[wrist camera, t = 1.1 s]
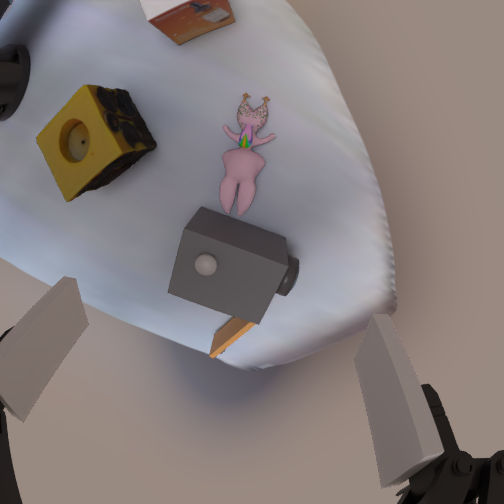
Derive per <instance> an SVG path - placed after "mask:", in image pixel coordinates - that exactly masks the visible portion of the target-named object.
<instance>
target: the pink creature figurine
mask: <svg viewBox="0 0 504 504" xmlns="http://www.w3.org/2000/svg"><path fill="white" fill-rule="evenodd" d="M243 96H244V99H243V102H242V103H241V105H240V107H239V109H238V113H237V119H238V122H239V124H240V126H241V128H242V133H241V134H238V135H237V134H234V133H232V132H231V131H230V130H229V128H228V126H226V125H224V126H223V129H224V131H225V132H226V133H227V134H228V136H230V137H231V138H232V139H233V140H235V141H236V142H238V143H239V146H240V148H239V149H232V150H229V151H227V152H225V153H224V154H223V156H222V159H223V162H224V166H225V170H226V175H225V177H224V179H223V180H222V181H221V184H220V202H221V205H222V207H223V209H224V211H225V212H226V213H227V214H229V212H230V209H231V207H232V205H233V202H234V198H235V194H236V189H237V184H238V183H239V184H240V186H239V191H238V198H237V210H238V216H241V215H242V214H244V213H245V211H246V210H247V209H248V208H249V206H250V205H251V203H252V200H253V198H254V195H255V191H256V187H255V183H254V180H255V177H256V176H257V174H258V173H259V172H260V170H261V169H262V168H263V167H264V165H265V161H264V159H263V158H262V157H261V156H260V155H259V154H257V153H254V152H252V151H251V147H253V146H255V145H260V144H263V143H266V142H268V141H270V140H272V139H273V138H275V134H270V135H269V136H268V137H266V138H263V139H259V138H257V137H256V132H257V130H258V129H260V128H261V127H262V126H263V125H264V124H265V122H266V120H267V117H268V111H267V106H266V101H267V100H270V99H269V98H268V97H267V96H266V97H265V98H262V99H264V100H265V102H264V104H263V105H261V106H260V107H258V108H257V109H255V110H252V108H251V107H250V106H249V105H248V103H247V102H246V97H250V96H249V95H248V94H247V93H246V92H245V94H243Z"/></svg>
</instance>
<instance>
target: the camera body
mask: <svg viewBox="0 0 504 504" xmlns="http://www.w3.org/2000/svg"><path fill="white" fill-rule="evenodd" d="M298 274H299V260H298V259H297V258H295V257H292V256H289V255H287V246H286V238H284V237H282V236H279V235H277V234H274V233H271V232H269V231H266V230H263V229H261V228H258V227H255V226H253V225H250V224H247V223H245V222H242V221H239V220H237V219H234V218H231V217H228V216H226V215H223V214H220V213H218V212H215V211H212V210H209V209H206V208H204V207H201V208H200V209H199V210H198V211H197V213H196V214H195V215H194V217H193V218H192V219H191V220H190V222H189V223H188V224H187V226H186V227H185V228H184V231H183V235H182V238H181V242H180V246H179V249H178V253H177V257H176V261H175V264H174V268H173V272H172V276H171V280H170V284H169V288H168V293H170V294H173V295H175V296H178V297H181V298H183V299H186V300H189V301H191V302H194V303H197V304H200V305H202V306H205V307H208V308H211V309H214V310H216V311H219V312H222V313H225V314H228V315H231V316H234V317H237V318H240V319H243V320H246V321H249V322H252V323H255V324H258V325H259V323H260V321H261V319H262V318H263V316H264V314H265V312H266V310H267V308H268V306H269V304H270V302H271V300H272V298H273V296H274V294H275V293H277V294H280V295H283V296H286V295H287V294H288V293H289V292H290V291H291V290H292V288H293V287H294V285H295V283H296V281H297V278H298Z"/></svg>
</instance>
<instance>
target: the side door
mask: <svg viewBox="0 0 504 504" xmlns="http://www.w3.org/2000/svg"><path fill="white" fill-rule="evenodd" d="M260 322H261V321H260ZM254 325H255V323H252V322H249V321H246V320H243V319H240V318H237V317H234V318H232V319H231V320H230V321H229V322H228V323H227V324H226V325H225V326H223V327H222V328H221V329H220V330H219V331H218V332H217V333H216V334H214V338H213V342H212V346H211V350H210V354H209V356H210V357H212V358H214V357H216V356H217V355H218V354H222V353H223V352H224V351H225V349H226V348H227V347H228V346H230V345H231V344H232V343H233V342H235V341H236V340H237V339H238V338H240V337H241V336H242V335H243V334H244V333H246V332H247V331H248V330H249V329H251V328H252V327H253V326H254Z"/></svg>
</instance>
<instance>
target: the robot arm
mask: <svg viewBox="0 0 504 504" xmlns="http://www.w3.org/2000/svg"><path fill="white" fill-rule="evenodd" d="M12 2H13V1H12V0H0V20H1V18H2V16H3V15H4V13H5V11H6V10H7V8H8V7H9V5H11V4H12ZM29 72H30V58H29V53H28V51H27V49H26V48H25V47H24V46H22V45H17V44H9V45H6V46H3V47H0V121H2V120H5V119H7V118H9V117H10V116H11V115H12V114H13V113H14V111H15V110H16V109H17V107H18V105H19V104H20V102H21V100H22V97H23V95H24V92H25V89H26V86H27V82H28V78H29ZM88 325H89V323H88V320H87V317H86V314H85V310H84V307H83V304H82V300H81V297H80V293H79V289H78V285H77V281H76V278H71V277H66V276H64V277H63V278H62V279H61V280H60V281H59V282H58V283H56V284H55V285H54V286H53V287H52V288H51V289H50V290H49V291H48V292H47V293H46V294H45V295H44V296H43V297H42V298H41V299H40V300H39V301H38V302H37V303H36V304H35V305H34V306H33V307H32V308H31V309H30V310H29V311H28V312H27V313H26V314H25V316H23V318H22V319H21V320H20V321H19V322H18V323H17V324H16V325H15V326H13V327H12V328H10V329H8V330H7V331H5V332H4V334H3V335H2V336H1V337H0V504H22V500H21V498H20V494H19V490H18V486H17V482H16V478H15V474H14V469H13V464H12V459H11V453H10V447H9V440H8V432H7V423H6V415H5V412H4V411H3V409H4V407H6V408H7V410H8V411H9V412H10V413H11V414H12V415H13V416H14V417H16V418H17V419H19V420H20V421H22V422H23V423H24V421H25V420H26V418H27V416H28V414H29V413H30V411H31V409H32V408H33V406H34V404H35V403H36V401H37V399H38V398H39V396H40V395H41V393H42V391H43V390H44V388H45V387H46V385H47V384H48V382H49V381H50V379H51V377H52V376H53V375H54V373H55V371H56V370H57V369H58V367H59V365H60V364H61V363H62V361H63V360H64V358H65V357H66V355H67V354H68V353H69V351H70V350H71V348H72V347H73V345H74V344H75V343H76V341H77V340H78V338H79V337H80V336H81V334H82V333H83V332H84V330H85V329H86V328H87V326H88ZM354 362H355V366H356V370H357V373H358V378H359V382H360V386H361V390H362V394H363V398H364V402H365V407H366V411H367V416H368V420H369V425H370V429H371V434H372V439H373V444H374V449H375V454H376V460H377V465H378V471H379V477H380V483H381V489H382V488H387V487H391V486H396V485H400V484H401V483H403V482H404V481H406V480H407V479H409V483H410V485H408V486H407V487H405V488H404V489H402V490H400V491H399V492H398V493H397V494H396V496H399V495H401V494H402V493H403V495H402V496H401V498H400V500H399V501H398V503H397V504H477V503H476V498H478V497H479V498H478V504H504V450H501V451H498V452H496V453H495V454H494V455H493V456H491V457H490V458H472V456H471V455H470V454H468V453H467V452H465V451H460V450H459V448H458V445H457V443H456V440H455V437H454V435H453V432H452V429H451V426H450V423H449V421H448V418H447V416H445V411H444V408H443V407H442V403H441V401H440V399H439V396H438V394H437V392H436V391H435V390H434V389H433V388H432V387H431V386H430V384H423V385H420V383H419V380H418V378H417V375H416V373H415V371H414V368H413V366H412V364H411V362H410V359H409V357H408V355H407V353H406V350H405V348H404V346H403V344H402V342H401V340H400V337H399V335H398V333H397V331H396V329H395V327H394V325H393V323H392V321H391V319H390V317H389V315H388V314H372V317H371V319H370V322H369V324H368V327H367V329H366V332H365V334H364V337H363V339H362V342H361V344H360V346H359V349H358V351H357V353H356V356H355V358H354Z"/></svg>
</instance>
